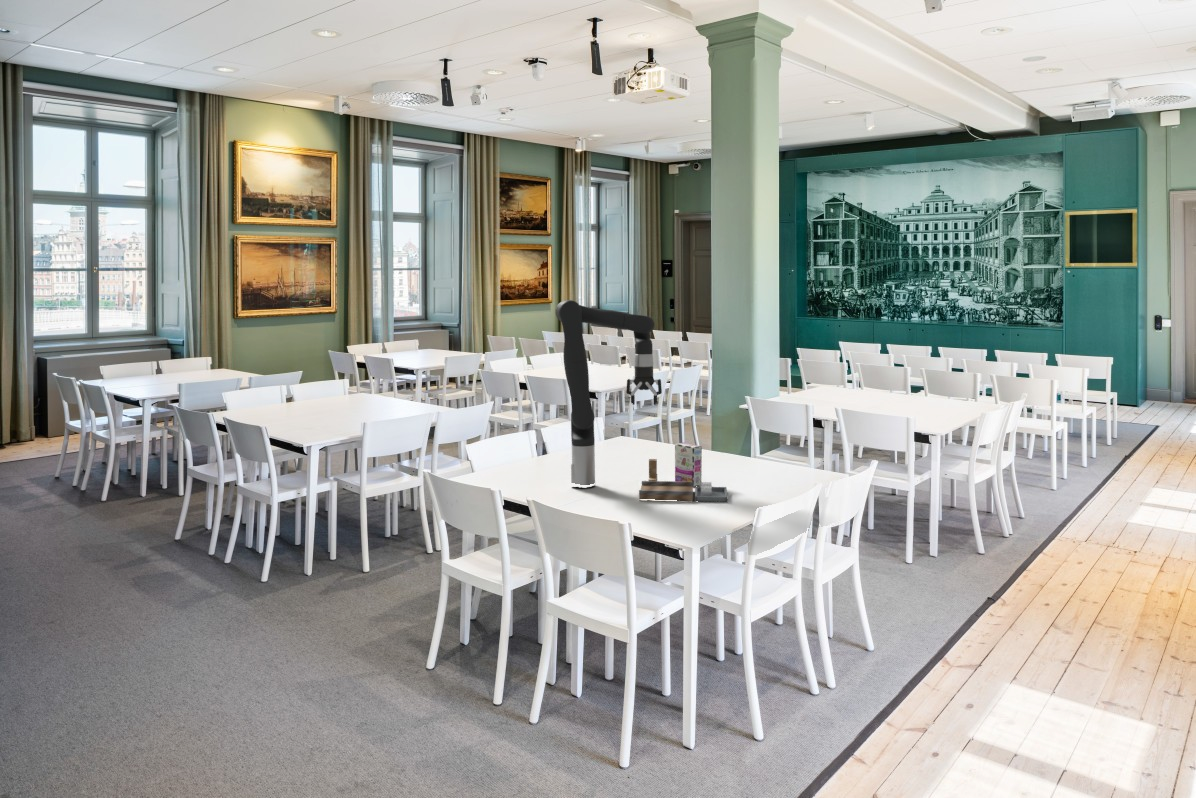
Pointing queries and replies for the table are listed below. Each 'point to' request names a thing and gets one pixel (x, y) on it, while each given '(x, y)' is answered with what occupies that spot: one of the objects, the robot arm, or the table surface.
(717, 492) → the tray
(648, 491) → the slot board
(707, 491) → the gray cube
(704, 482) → the grey cube
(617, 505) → the table surface
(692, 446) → the candy bar box
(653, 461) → the tan stepped block
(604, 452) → the table surface
